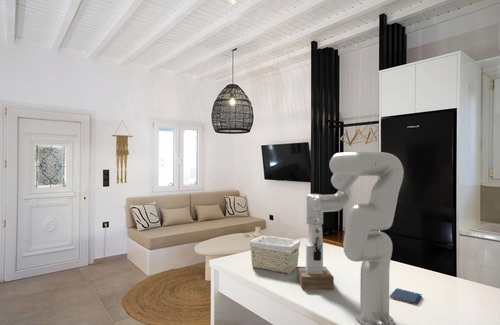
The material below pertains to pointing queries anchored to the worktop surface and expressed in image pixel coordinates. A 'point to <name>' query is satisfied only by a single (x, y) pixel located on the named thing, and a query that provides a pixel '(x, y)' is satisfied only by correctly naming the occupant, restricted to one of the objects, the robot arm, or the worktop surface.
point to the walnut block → (315, 280)
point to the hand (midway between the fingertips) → (314, 257)
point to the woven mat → (406, 296)
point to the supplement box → (312, 265)
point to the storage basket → (275, 253)
